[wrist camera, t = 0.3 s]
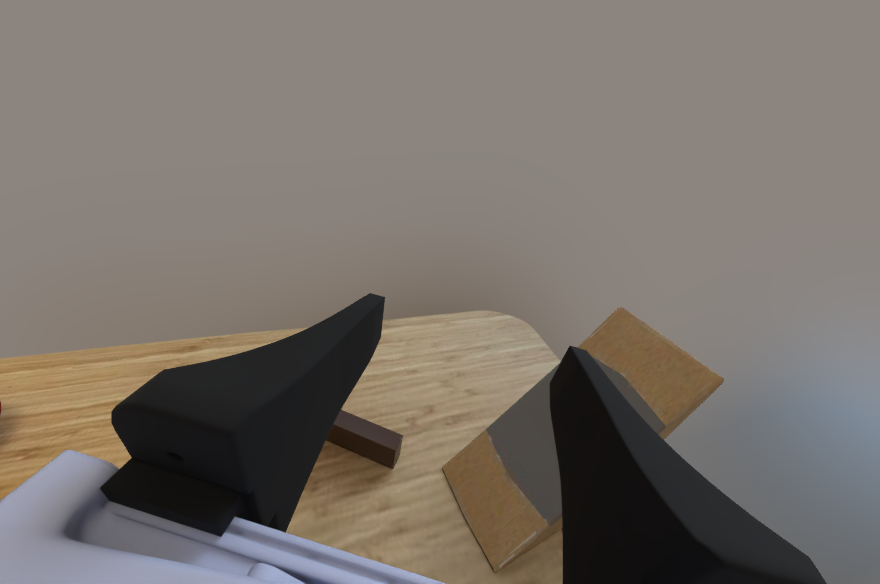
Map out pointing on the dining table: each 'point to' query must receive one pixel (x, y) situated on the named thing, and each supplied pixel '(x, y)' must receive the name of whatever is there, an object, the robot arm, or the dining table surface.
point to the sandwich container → (533, 445)
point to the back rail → (366, 439)
